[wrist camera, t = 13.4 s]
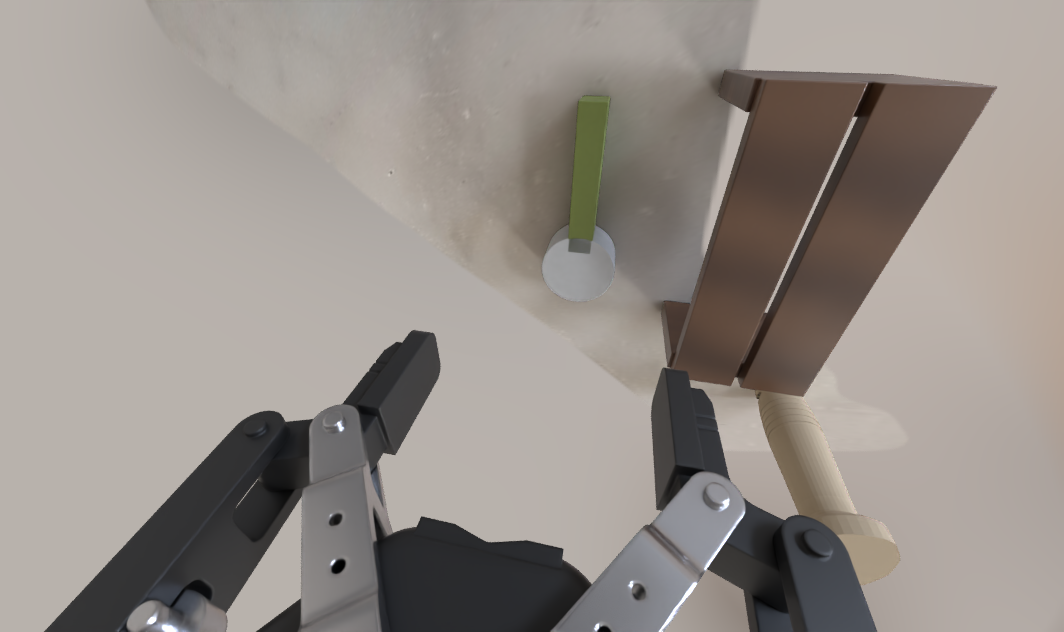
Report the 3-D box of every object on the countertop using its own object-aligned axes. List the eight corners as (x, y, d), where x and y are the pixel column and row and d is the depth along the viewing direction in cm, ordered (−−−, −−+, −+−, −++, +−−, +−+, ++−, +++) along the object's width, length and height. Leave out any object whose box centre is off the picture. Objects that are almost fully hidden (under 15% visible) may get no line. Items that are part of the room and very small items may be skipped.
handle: (739, 408, 38) (790, 578, 26) (750, 359, 34) (816, 529, 22) (794, 411, 36) (875, 590, 25) (812, 361, 33) (916, 541, 21)
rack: (724, 69, 23) (761, 79, 16) (893, 74, 21) (1004, 86, 15) (660, 313, 33) (668, 377, 27) (771, 327, 32) (806, 398, 26)
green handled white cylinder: (554, 94, 25) (546, 99, 23) (640, 97, 25) (641, 103, 22) (546, 279, 34) (540, 297, 31) (610, 287, 33) (609, 306, 30)
